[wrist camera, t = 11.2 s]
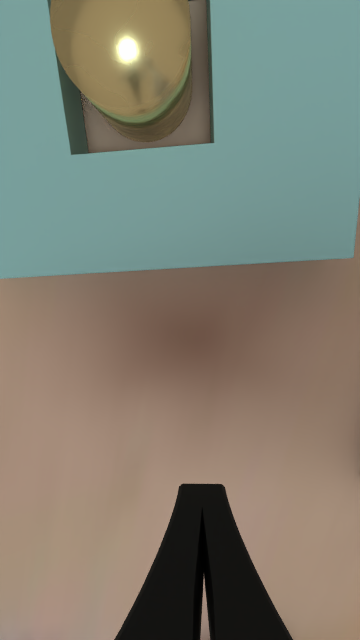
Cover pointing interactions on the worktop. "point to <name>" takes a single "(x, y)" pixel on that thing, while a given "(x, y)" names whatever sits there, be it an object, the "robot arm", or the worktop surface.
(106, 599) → the worktop surface
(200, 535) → the robot arm
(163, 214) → the jig
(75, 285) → the worktop surface
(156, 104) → the peg
